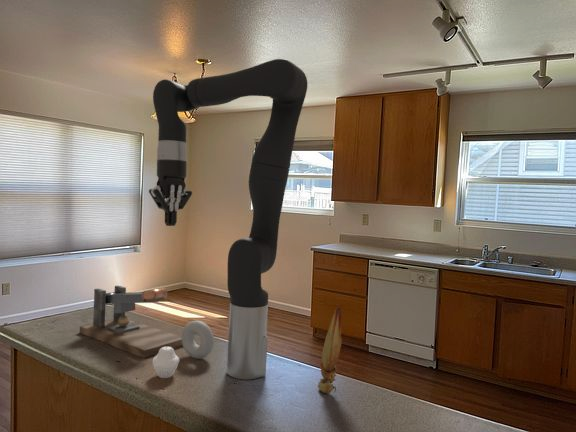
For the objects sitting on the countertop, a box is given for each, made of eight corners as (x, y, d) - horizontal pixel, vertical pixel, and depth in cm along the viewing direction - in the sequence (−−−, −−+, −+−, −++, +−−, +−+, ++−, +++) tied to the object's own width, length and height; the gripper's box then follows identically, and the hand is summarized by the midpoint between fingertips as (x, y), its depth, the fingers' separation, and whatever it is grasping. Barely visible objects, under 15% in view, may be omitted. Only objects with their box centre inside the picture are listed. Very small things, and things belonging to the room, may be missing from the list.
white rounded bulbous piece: (184, 375, 107) (185, 346, 106) (163, 383, 101) (165, 352, 101) (166, 368, 110) (167, 340, 110) (146, 375, 105) (147, 346, 105)
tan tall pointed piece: (332, 403, 96) (337, 311, 95) (309, 397, 98) (315, 307, 97) (341, 391, 102) (347, 304, 102) (320, 386, 105) (325, 301, 104)
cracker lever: (168, 309, 126) (167, 287, 126) (150, 313, 120) (148, 290, 121) (117, 309, 139) (115, 289, 140) (98, 313, 134) (96, 292, 134)
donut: (177, 355, 119) (179, 318, 118) (186, 352, 122) (188, 316, 121) (207, 364, 114) (209, 325, 113) (215, 360, 117) (217, 322, 116)
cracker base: (185, 345, 127) (187, 299, 127) (144, 358, 116) (146, 308, 115) (120, 323, 144) (122, 283, 144) (79, 332, 133) (81, 289, 132)
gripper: (160, 156, 110) (159, 227, 110) (200, 161, 120) (199, 225, 121) (141, 157, 114) (140, 225, 114) (181, 162, 125) (180, 224, 125)
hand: (170, 225), depth 118 cm, fingers closed
